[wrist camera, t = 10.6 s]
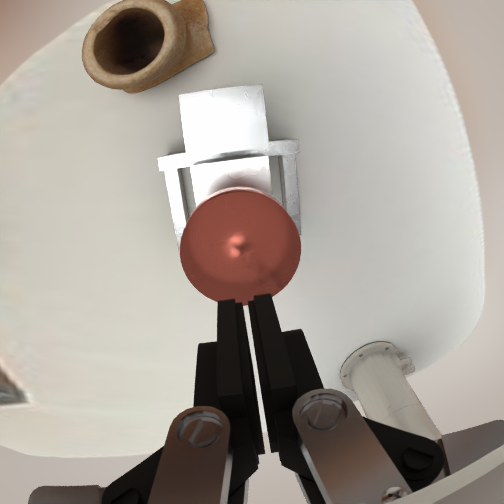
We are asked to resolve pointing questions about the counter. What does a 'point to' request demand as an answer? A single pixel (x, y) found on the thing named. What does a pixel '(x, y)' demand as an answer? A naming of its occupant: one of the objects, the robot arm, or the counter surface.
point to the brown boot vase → (145, 42)
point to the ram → (238, 231)
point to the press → (227, 143)
